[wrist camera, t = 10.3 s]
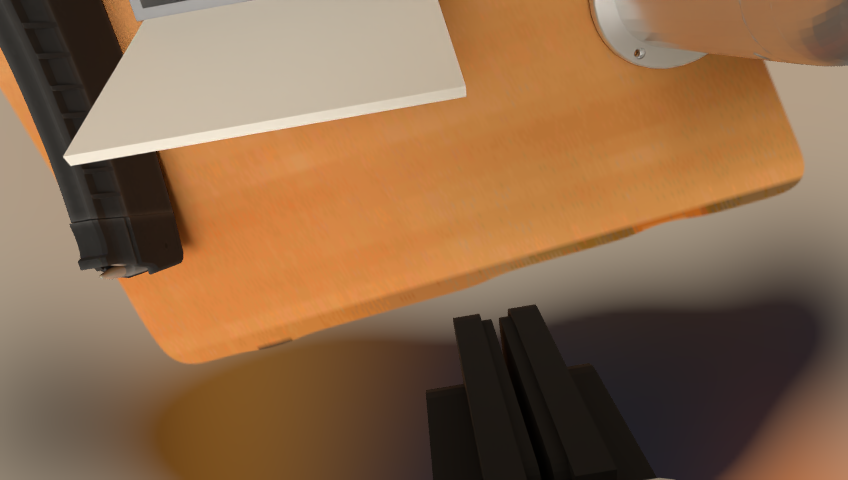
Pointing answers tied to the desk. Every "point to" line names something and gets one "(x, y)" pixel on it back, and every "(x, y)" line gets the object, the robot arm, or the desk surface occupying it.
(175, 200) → the desk surface
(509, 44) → the desk surface
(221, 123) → the carton flap
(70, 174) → the magazine
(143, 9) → the carton
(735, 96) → the desk surface
